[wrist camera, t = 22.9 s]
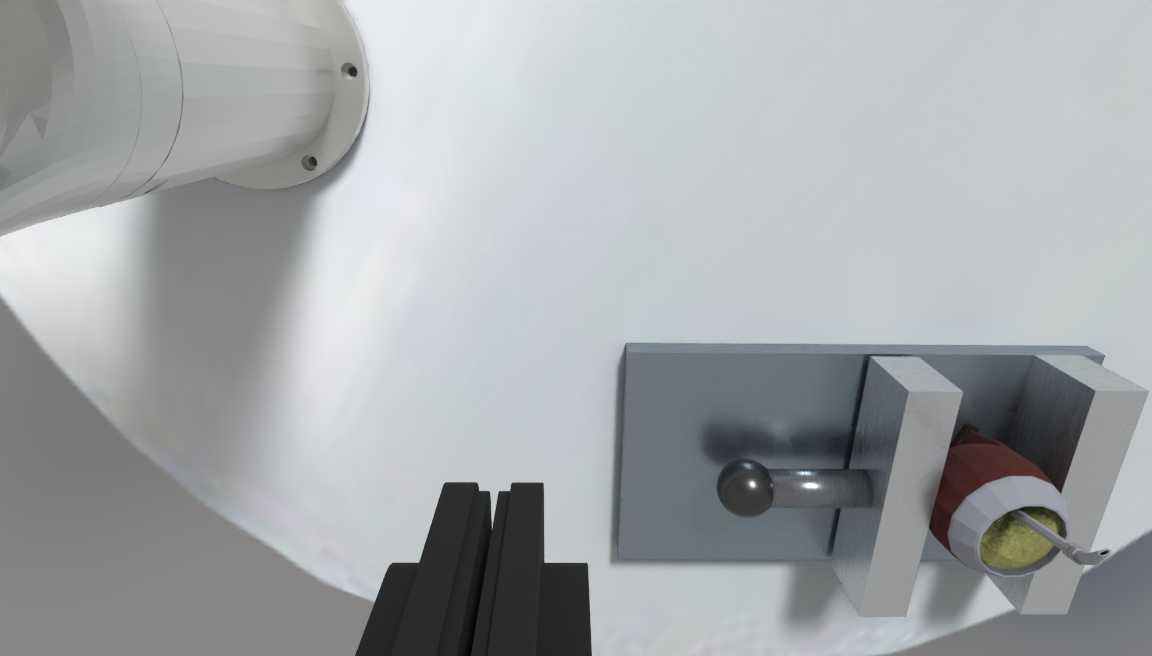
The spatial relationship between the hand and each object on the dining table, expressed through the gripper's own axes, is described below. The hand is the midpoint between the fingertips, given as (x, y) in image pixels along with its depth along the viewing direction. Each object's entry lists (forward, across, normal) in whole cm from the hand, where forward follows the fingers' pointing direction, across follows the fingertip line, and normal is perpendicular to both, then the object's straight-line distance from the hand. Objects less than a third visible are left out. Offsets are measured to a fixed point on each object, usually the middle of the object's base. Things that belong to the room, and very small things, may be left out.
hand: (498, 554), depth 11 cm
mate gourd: (+28, -26, +15) cm, 41 cm away
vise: (+29, -20, +16) cm, 39 cm away
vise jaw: (+27, -17, +16) cm, 36 cm away
